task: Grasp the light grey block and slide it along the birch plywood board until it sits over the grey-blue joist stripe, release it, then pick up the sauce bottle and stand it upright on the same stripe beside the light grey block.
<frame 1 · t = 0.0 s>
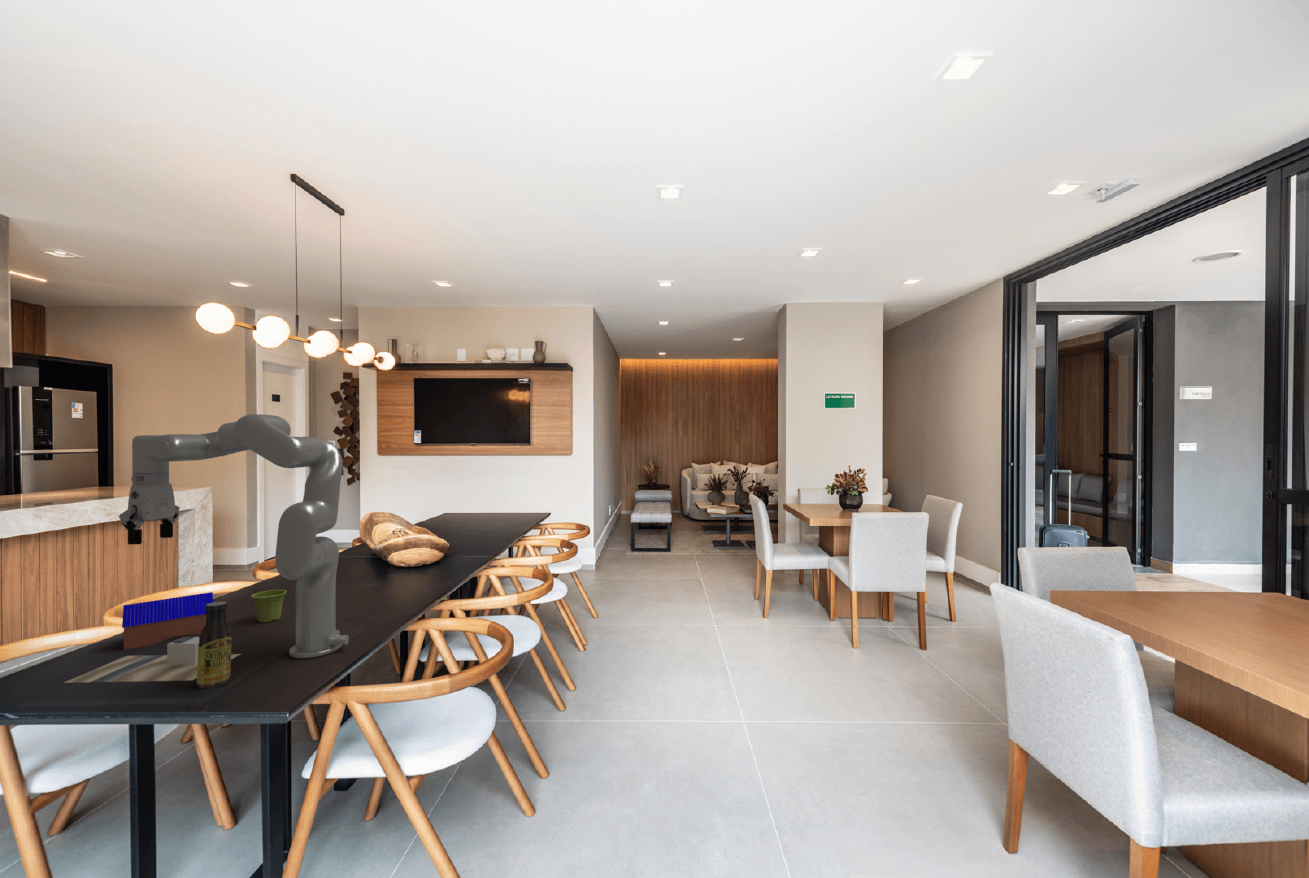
hand: (151, 540, 150), 31 cm above the table, fingers open, 9 cm apart
board: (157, 672, 137), on the table
plant pot: (269, 620, 177), on the table
house: (170, 637, 162), on the table
light grey block: (189, 661, 141), point 1 cm above the table, touching board
sauce bottle: (214, 687, 129), on the table
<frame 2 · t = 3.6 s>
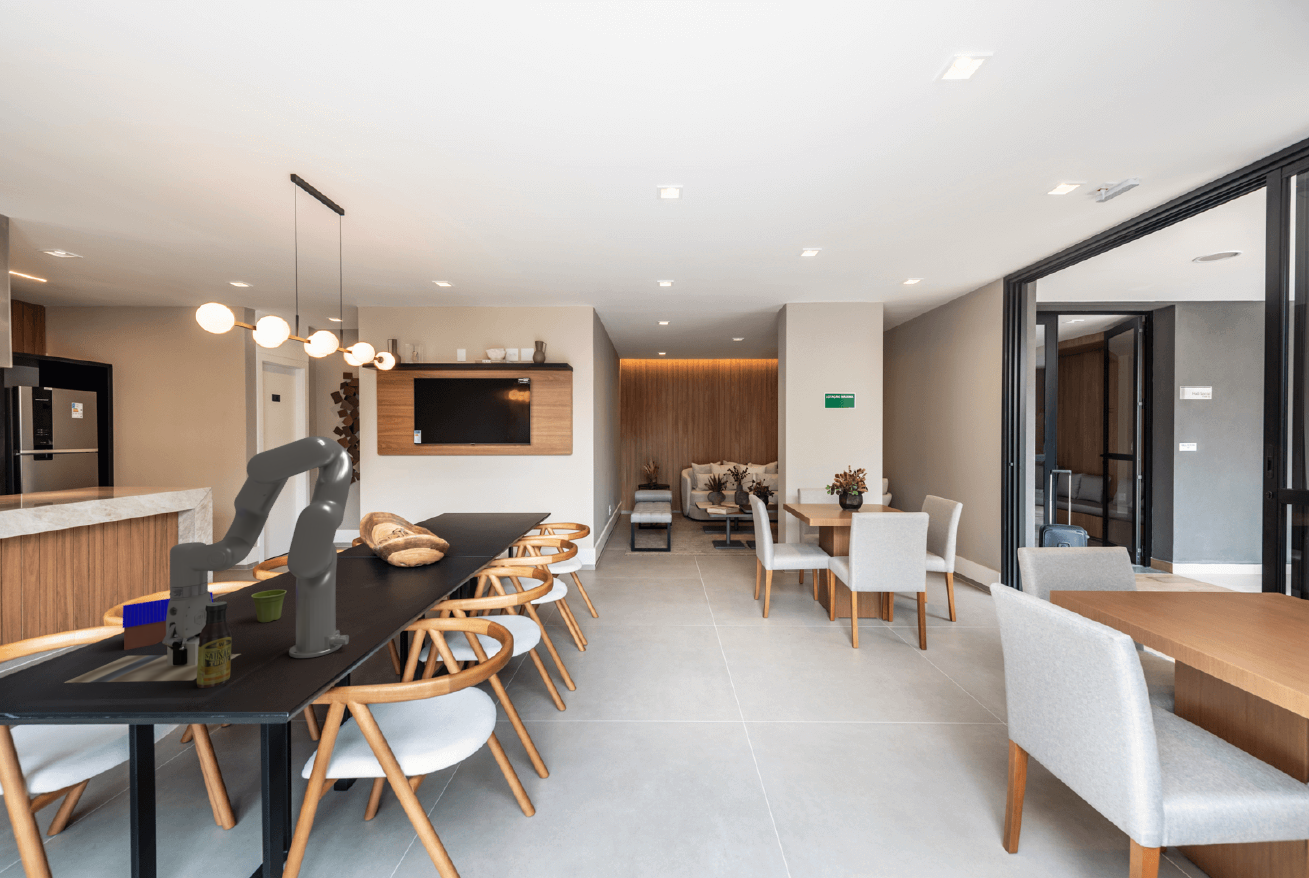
hand: (189, 659, 141), 2 cm above the table, fingers closed on light grey block, 5 cm apart
light grey block: (189, 661, 141), point 1 cm above the table, touching board, gripper
everything else where it was.
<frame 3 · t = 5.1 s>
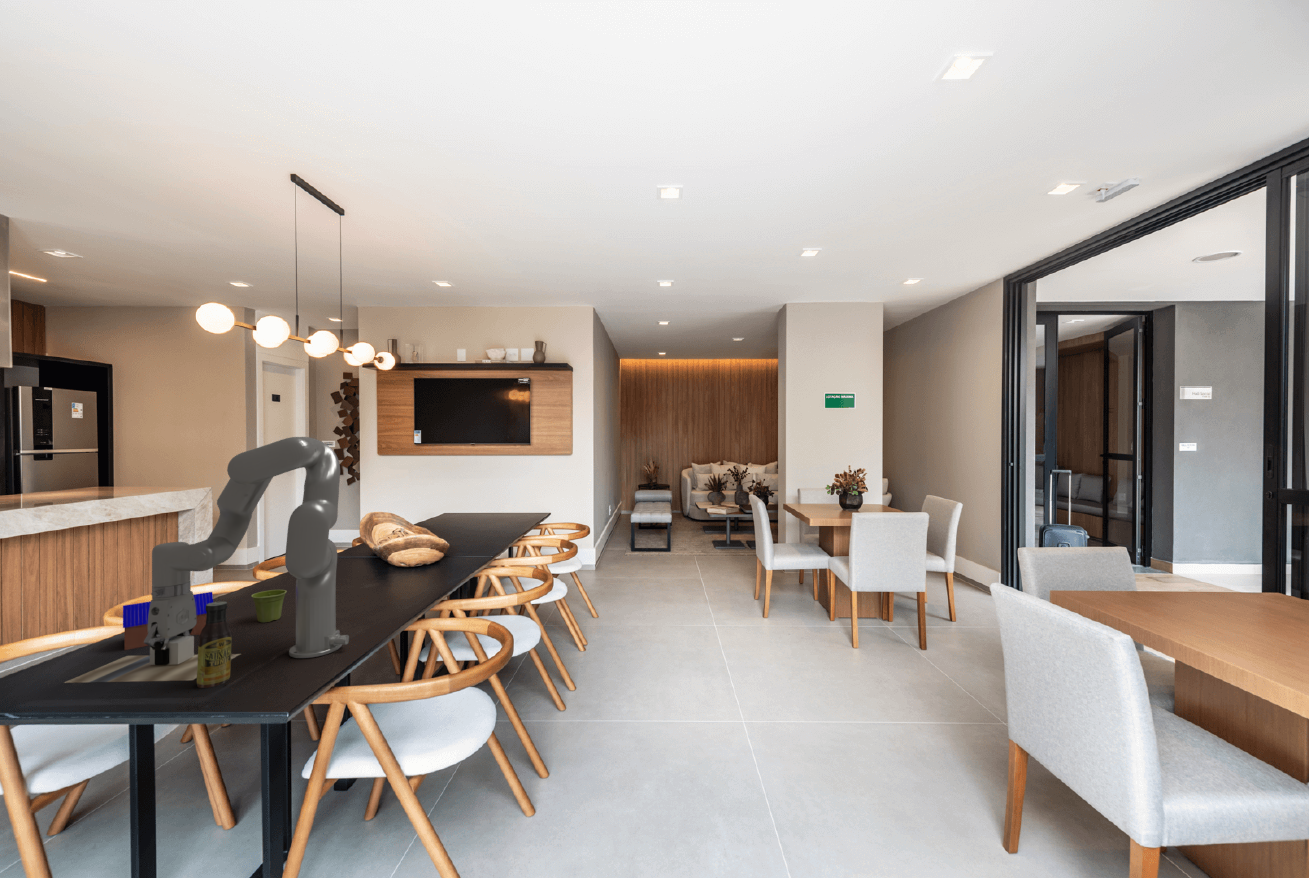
hand: (171, 659, 140), 2 cm above the table, fingers closed on light grey block, 5 cm apart
light grey block: (172, 660, 140), point 1 cm above the table, touching gripper
everything else where it was.
when the fingers open (2 cm above the table, at t = 7.1 s): light grey block stays where it is, resting on board.
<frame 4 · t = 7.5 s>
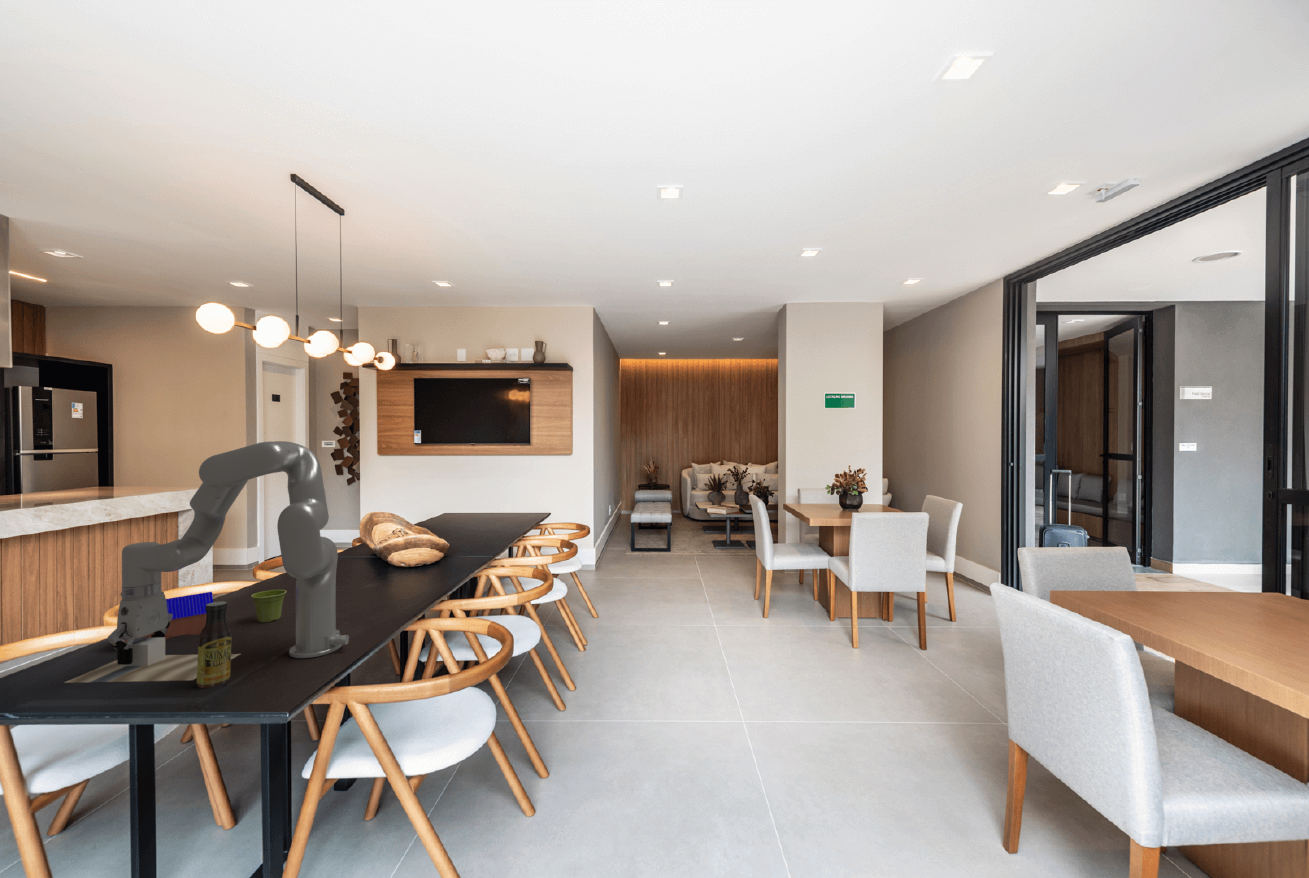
hand: (142, 656, 140), 3 cm above the table, fingers open, 9 cm apart
light grey block: (143, 662, 140), point 1 cm above the table, touching board
everything else where it was.
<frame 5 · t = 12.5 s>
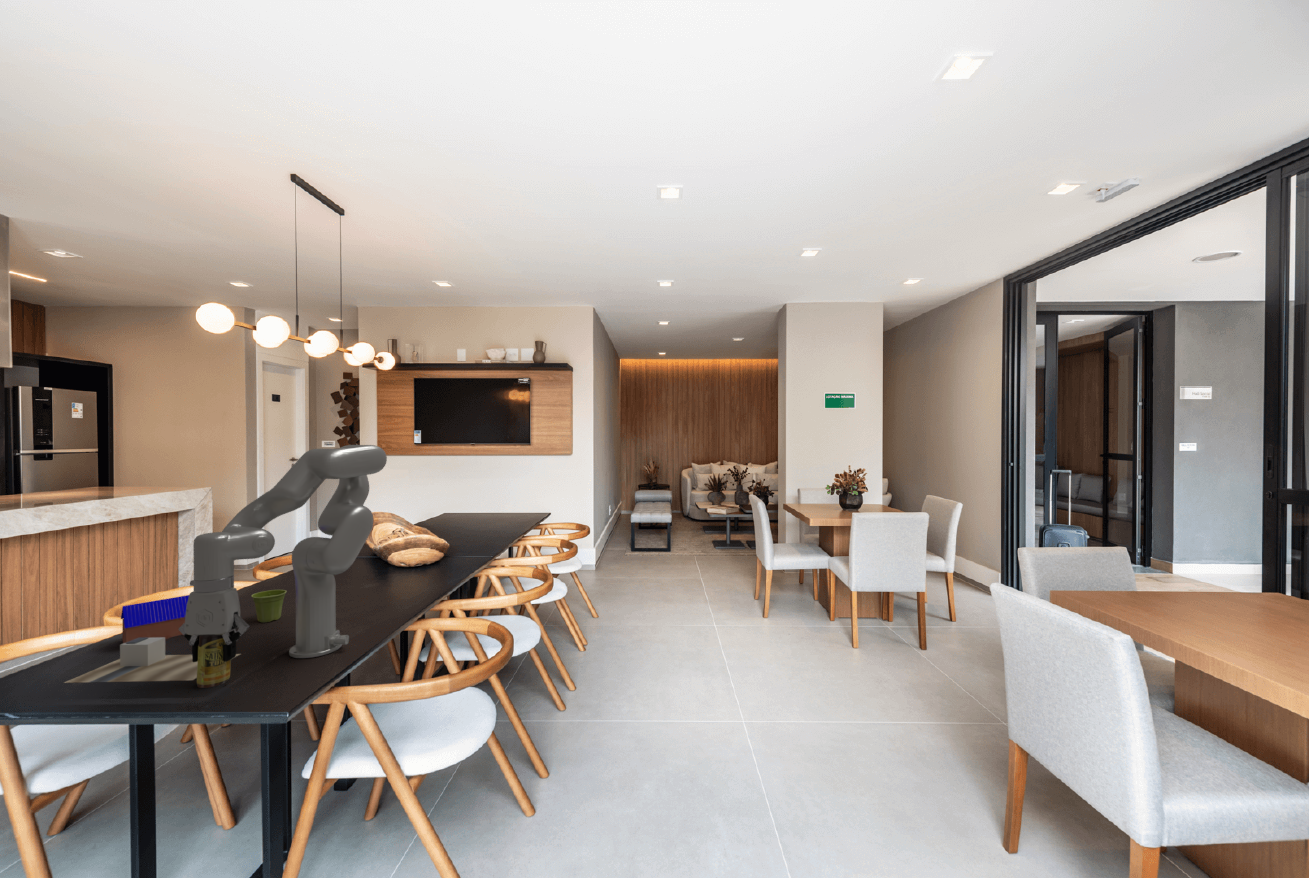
hand: (214, 658, 129), 7 cm above the table, fingers closed on sauce bottle, 6 cm apart
sauce bottle: (214, 687, 129), on the table, touching gripper
everything else where it was.
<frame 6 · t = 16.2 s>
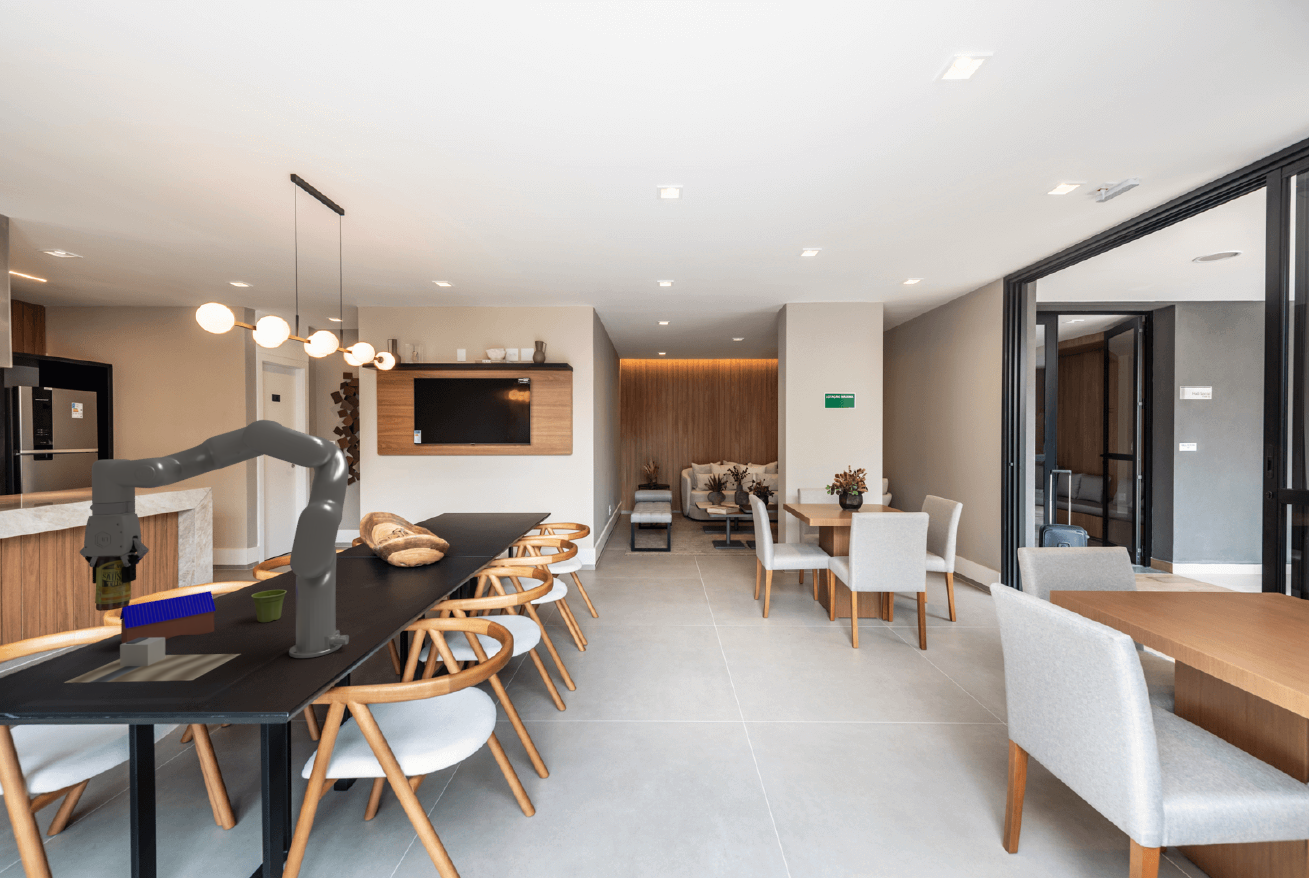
hand: (114, 581, 133), 24 cm above the table, fingers closed on sauce bottle, 6 cm apart
sauce bottle: (114, 608, 133), point 18 cm above the table, touching gripper
everything else where it was.
when the fingers open (9 cm above the table, at t = 19.5 s): sauce bottle drops 1 cm, resting on board.
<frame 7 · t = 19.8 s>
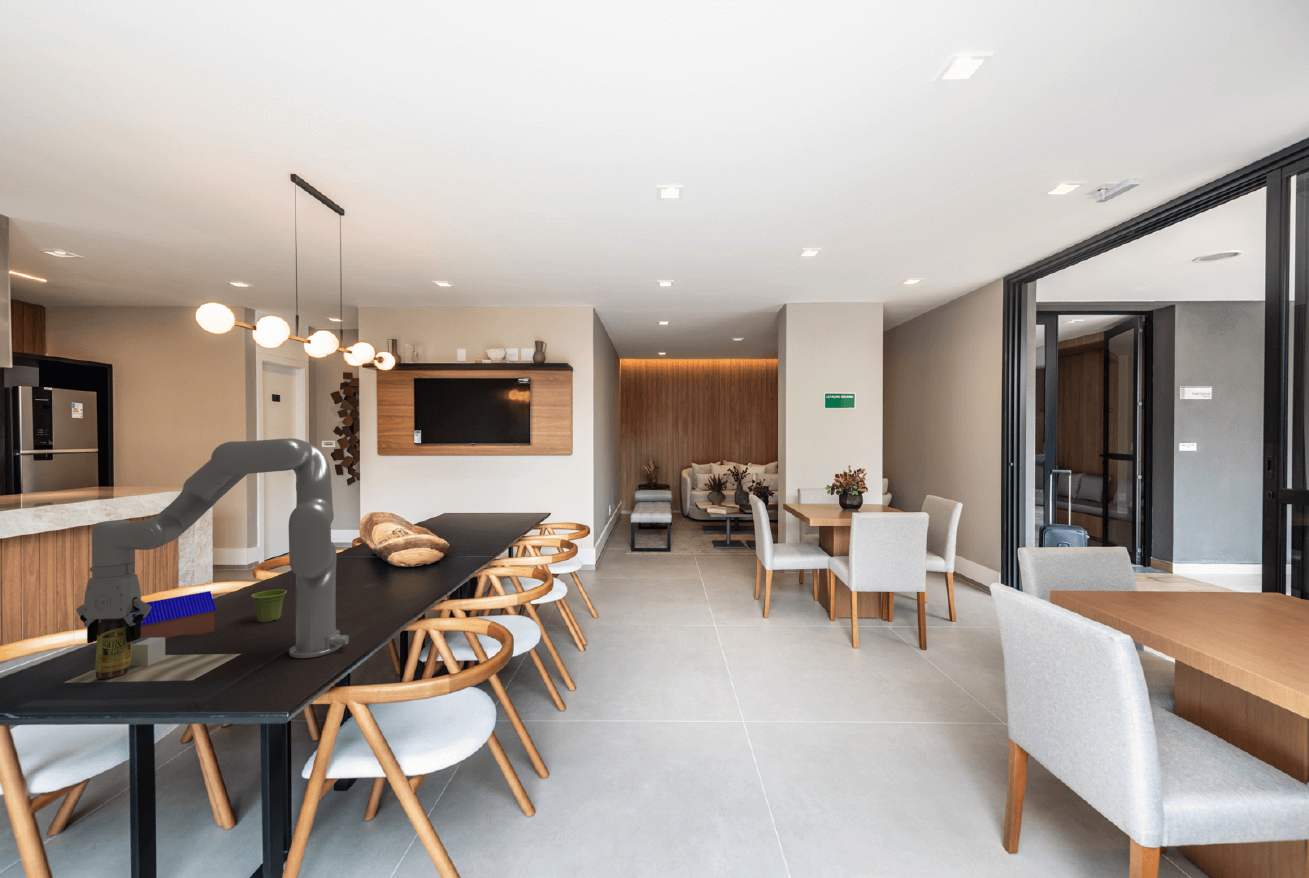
hand: (114, 640, 133), 10 cm above the table, fingers open, 8 cm apart
sauce bottle: (114, 675, 133), point 1 cm above the table, touching board
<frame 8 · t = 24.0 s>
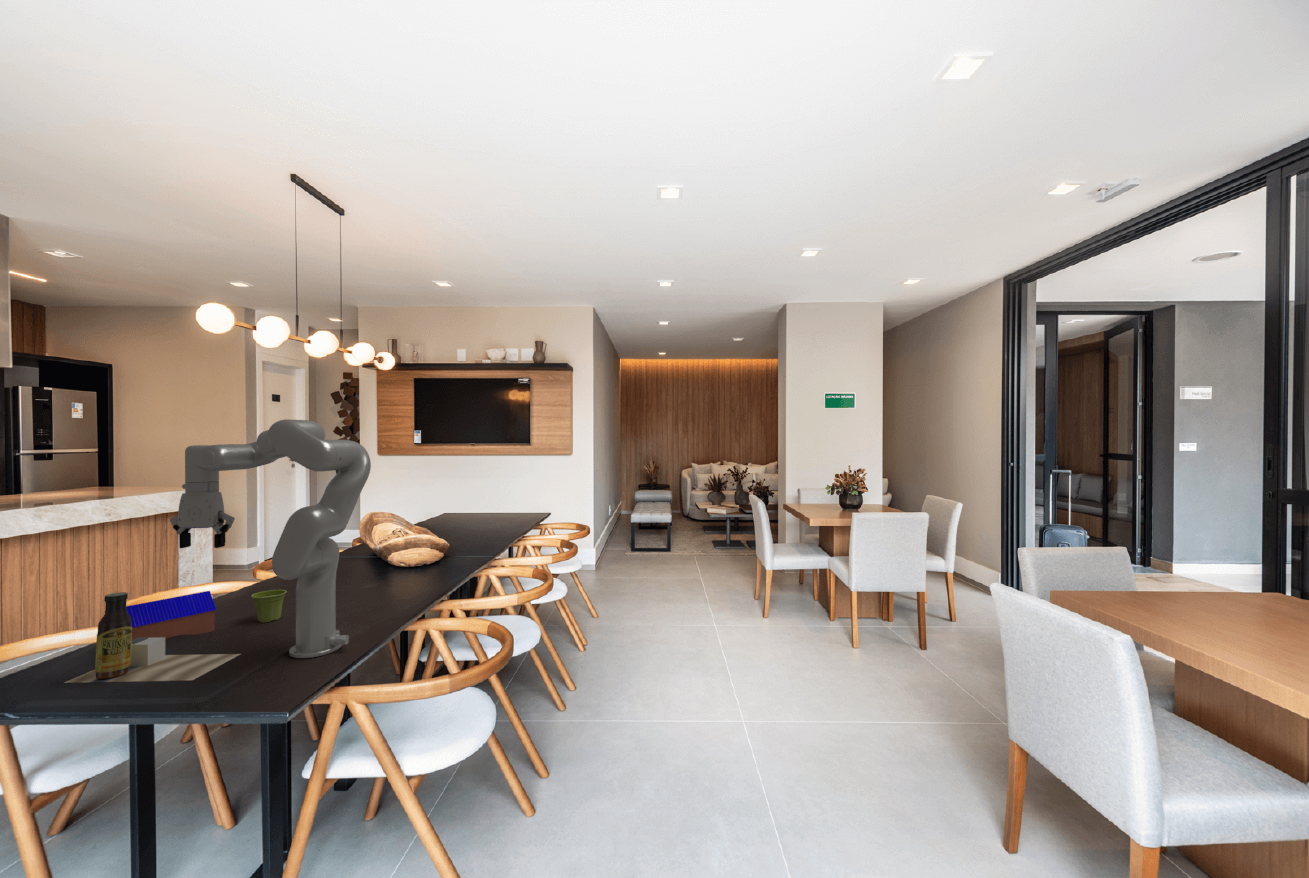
hand: (202, 547, 155), 28 cm above the table, fingers open, 9 cm apart
at the end: light grey block inside the target area on the board (0.2 cm from its centre), point 1.2 cm above the board's base; sauce bottle inside the target area on the board (0.3 cm from its centre), point 1.0 cm above the board's base; sauce bottle tilted 0° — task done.
